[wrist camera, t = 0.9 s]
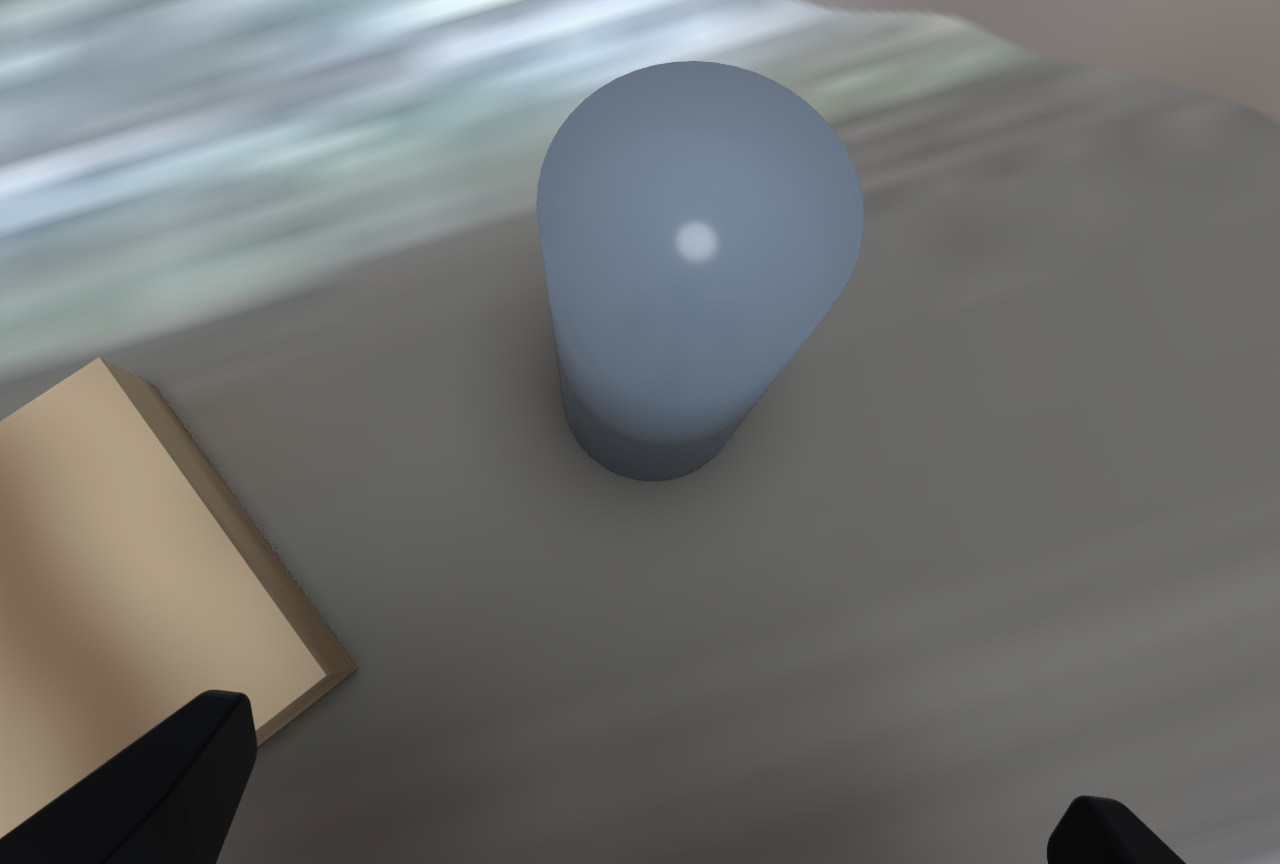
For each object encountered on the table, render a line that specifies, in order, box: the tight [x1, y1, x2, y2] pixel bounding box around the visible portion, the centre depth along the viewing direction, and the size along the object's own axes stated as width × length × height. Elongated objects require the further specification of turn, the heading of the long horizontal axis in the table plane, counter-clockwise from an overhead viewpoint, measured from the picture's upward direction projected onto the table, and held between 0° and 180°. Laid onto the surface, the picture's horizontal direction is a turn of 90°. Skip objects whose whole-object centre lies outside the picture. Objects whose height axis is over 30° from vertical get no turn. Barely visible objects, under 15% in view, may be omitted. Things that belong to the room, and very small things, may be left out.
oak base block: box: [0, 357, 357, 838], centre depth 19 cm, size 10×10×2 cm
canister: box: [537, 61, 864, 481], centre depth 18 cm, size 5×5×11 cm
